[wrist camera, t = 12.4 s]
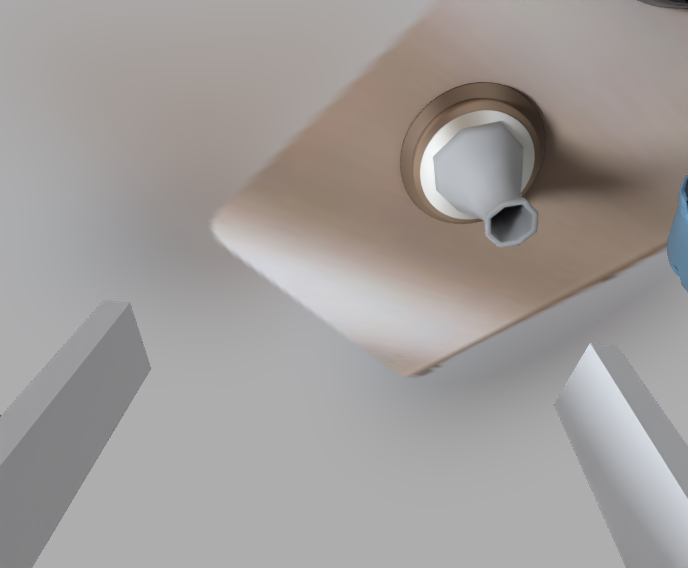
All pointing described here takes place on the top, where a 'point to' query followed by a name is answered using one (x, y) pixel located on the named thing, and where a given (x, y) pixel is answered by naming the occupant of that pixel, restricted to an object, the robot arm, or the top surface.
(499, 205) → the flask
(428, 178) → the pedestal
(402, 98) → the top surface
